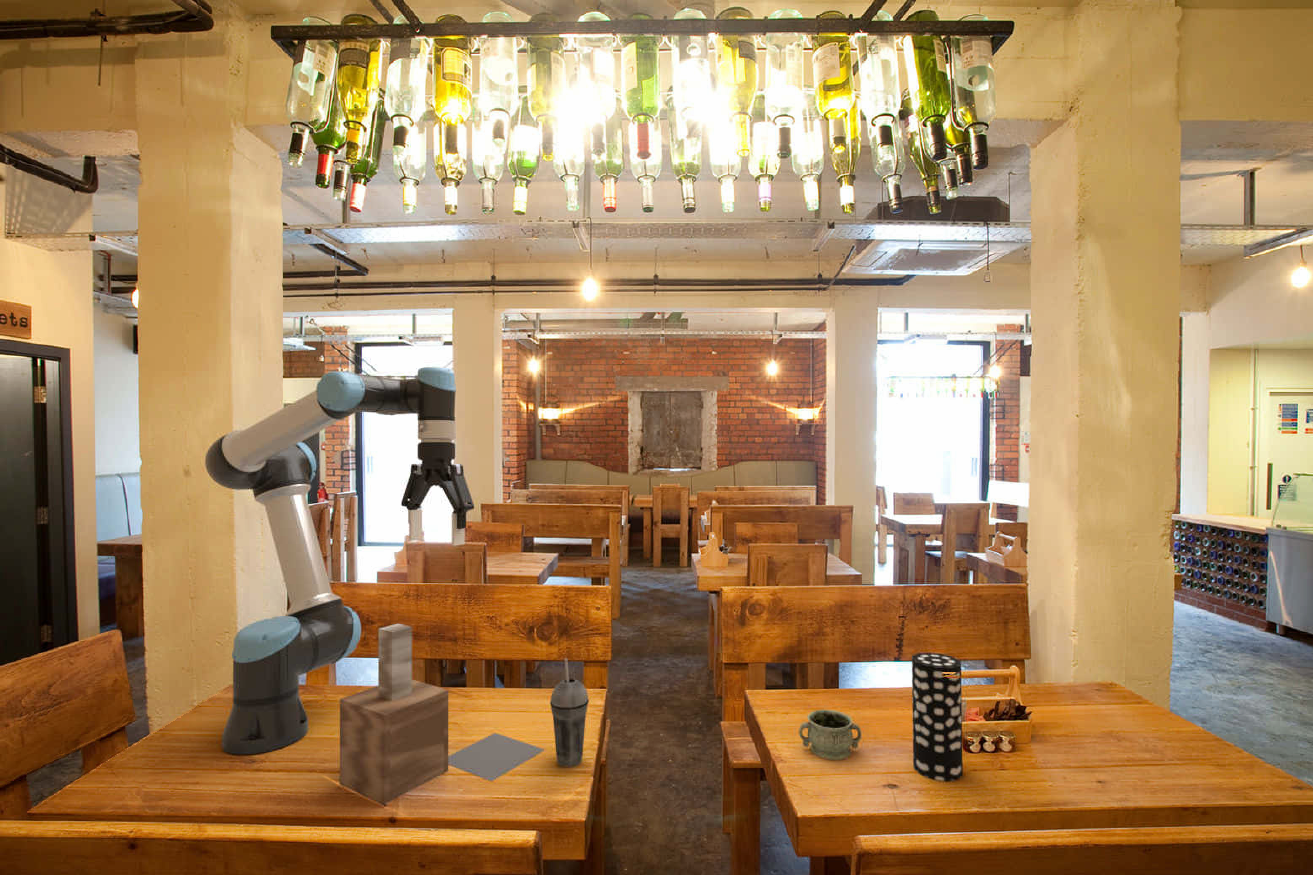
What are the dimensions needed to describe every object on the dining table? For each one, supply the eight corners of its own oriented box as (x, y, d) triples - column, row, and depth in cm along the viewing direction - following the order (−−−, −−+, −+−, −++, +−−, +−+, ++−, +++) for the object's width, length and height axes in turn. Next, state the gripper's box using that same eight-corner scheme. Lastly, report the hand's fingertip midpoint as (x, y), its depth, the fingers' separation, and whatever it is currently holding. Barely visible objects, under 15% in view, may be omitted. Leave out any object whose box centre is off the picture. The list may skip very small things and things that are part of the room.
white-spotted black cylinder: (959, 762, 120) (958, 655, 120) (965, 784, 112) (963, 669, 112) (912, 755, 122) (910, 650, 123) (914, 776, 115) (913, 664, 115)
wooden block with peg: (339, 784, 113) (340, 631, 113) (403, 754, 124) (403, 614, 124) (384, 806, 106) (385, 642, 106) (448, 772, 117) (448, 624, 117)
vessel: (856, 741, 129) (856, 709, 129) (867, 762, 120) (866, 729, 120) (796, 739, 130) (795, 708, 130) (802, 760, 121) (802, 727, 121)
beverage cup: (596, 758, 122) (595, 653, 122) (575, 776, 115) (575, 664, 116) (564, 750, 125) (563, 648, 125) (542, 767, 118) (542, 659, 119)
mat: (439, 762, 121) (439, 760, 121) (494, 734, 132) (494, 732, 132) (491, 783, 113) (491, 780, 113) (545, 751, 125) (545, 749, 125)
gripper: (384, 441, 138) (383, 540, 137) (462, 440, 124) (462, 549, 124) (414, 442, 144) (413, 536, 144) (491, 440, 131) (491, 544, 130)
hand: (436, 542), depth 134 cm, fingers open, 13 cm apart
